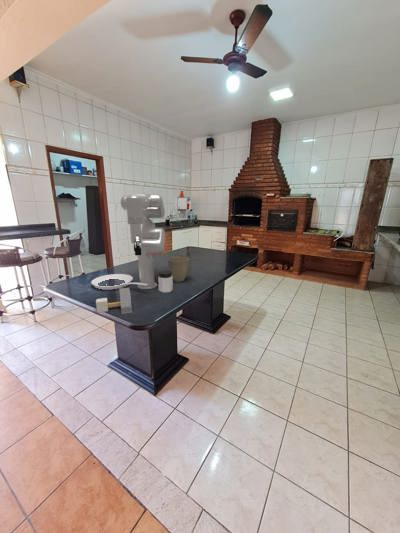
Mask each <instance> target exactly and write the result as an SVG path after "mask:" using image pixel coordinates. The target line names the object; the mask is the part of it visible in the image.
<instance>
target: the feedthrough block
mask: <svg viewBox="0 0 400 533" xmlns="http://www.w3.org/2000/svg"><path fill="white" fill-rule="evenodd" d="M118 290H119V299H120V300H119V302H121V306H120V312H121V315H125V314H130V313H133V309H132V308H131V307H132V298H131V291H130V287H123V288H120V289H118Z"/></svg>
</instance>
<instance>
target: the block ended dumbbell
mask: <svg viewBox="0 0 400 533" xmlns="http://www.w3.org/2000/svg"><path fill="white" fill-rule="evenodd" d="M95 307H96V313H105V312H109V308H113V307H121V302H120V301H115V302H108V297H101V298H97V299H96V300H95ZM131 308H132V306H131Z"/></svg>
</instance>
